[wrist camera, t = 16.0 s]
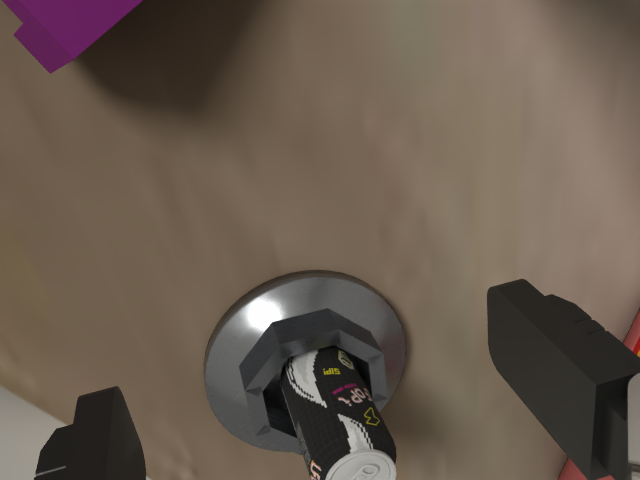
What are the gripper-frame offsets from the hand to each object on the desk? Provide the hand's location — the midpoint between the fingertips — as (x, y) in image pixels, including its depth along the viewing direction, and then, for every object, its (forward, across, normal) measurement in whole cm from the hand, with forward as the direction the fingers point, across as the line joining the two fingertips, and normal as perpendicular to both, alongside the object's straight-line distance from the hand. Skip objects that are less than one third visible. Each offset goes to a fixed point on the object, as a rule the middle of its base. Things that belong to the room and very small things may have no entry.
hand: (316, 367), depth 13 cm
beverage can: (+28, -3, +22) cm, 36 cm away
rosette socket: (+29, -3, +22) cm, 37 cm away
